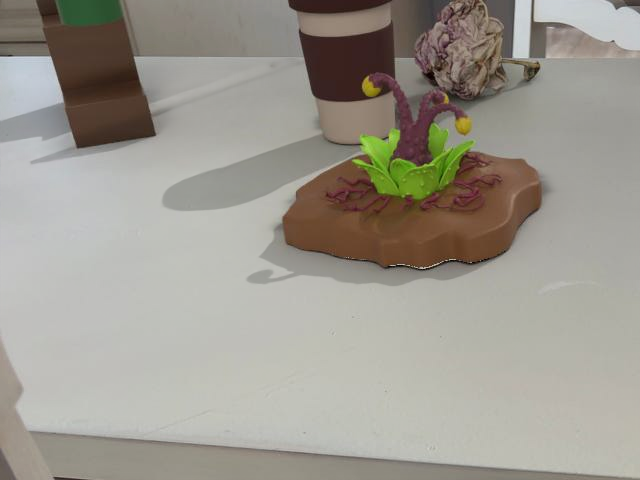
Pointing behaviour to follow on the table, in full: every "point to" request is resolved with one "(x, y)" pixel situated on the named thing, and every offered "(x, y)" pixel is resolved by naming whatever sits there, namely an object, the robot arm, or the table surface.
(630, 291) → the table surface
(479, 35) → the decorative flower
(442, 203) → the plant
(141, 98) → the rack
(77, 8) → the green bottle
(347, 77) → the coffee cup
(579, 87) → the table surface
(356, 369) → the table surface
